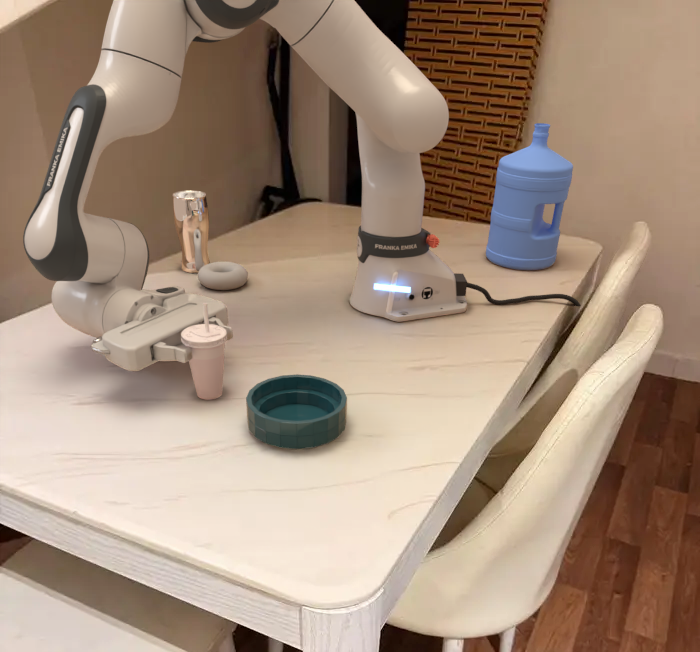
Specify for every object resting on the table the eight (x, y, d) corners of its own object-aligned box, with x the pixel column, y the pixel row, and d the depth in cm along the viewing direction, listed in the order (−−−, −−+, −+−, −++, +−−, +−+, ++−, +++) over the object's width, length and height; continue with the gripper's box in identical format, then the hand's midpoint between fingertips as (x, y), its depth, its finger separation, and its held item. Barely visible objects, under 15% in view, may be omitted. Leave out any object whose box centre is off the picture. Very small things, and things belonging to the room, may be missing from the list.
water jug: (477, 265, 155) (496, 126, 139) (493, 245, 167) (512, 116, 151) (548, 276, 150) (576, 134, 134) (559, 255, 162) (586, 122, 146)
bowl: (335, 398, 103) (335, 371, 100) (355, 447, 92) (356, 418, 90) (243, 406, 100) (242, 378, 98) (253, 457, 90) (252, 427, 87)
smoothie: (222, 406, 100) (214, 314, 92) (180, 401, 101) (169, 309, 93) (237, 386, 105) (231, 297, 97) (197, 381, 106) (187, 292, 98)
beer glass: (181, 262, 150) (173, 189, 142) (214, 262, 151) (208, 190, 142) (177, 273, 145) (169, 198, 136) (211, 273, 145) (205, 198, 137)
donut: (215, 273, 146) (188, 287, 138) (213, 256, 144) (187, 270, 136) (257, 280, 143) (232, 295, 135) (256, 263, 141) (231, 278, 134)
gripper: (79, 324, 95) (152, 350, 89) (184, 282, 110) (253, 302, 104) (87, 366, 99) (158, 394, 93) (188, 320, 113) (255, 341, 107)
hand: (209, 345), depth 98 cm, fingers open, 7 cm apart
